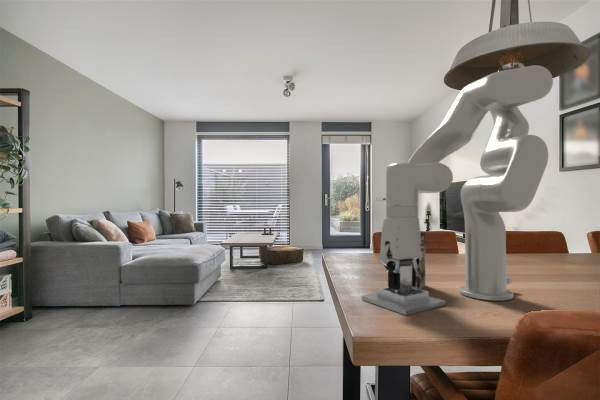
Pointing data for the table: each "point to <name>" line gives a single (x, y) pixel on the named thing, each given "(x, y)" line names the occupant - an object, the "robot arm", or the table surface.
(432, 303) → the collar
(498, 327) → the table surface
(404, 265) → the grey jar with lid
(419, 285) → the coffee box
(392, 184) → the robot arm
